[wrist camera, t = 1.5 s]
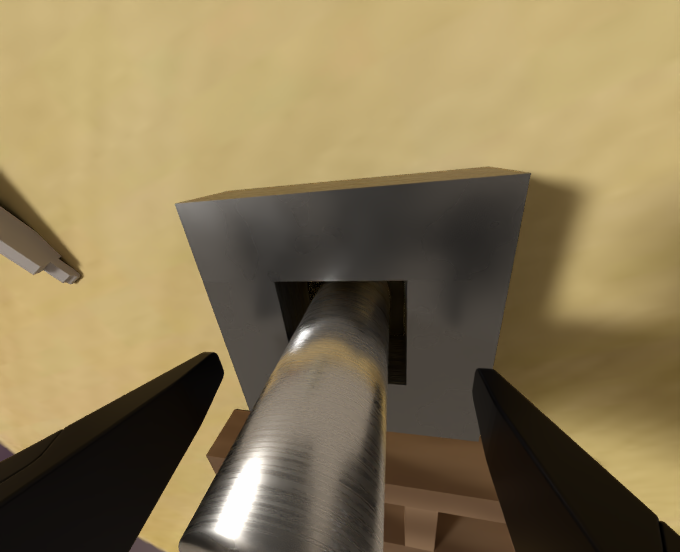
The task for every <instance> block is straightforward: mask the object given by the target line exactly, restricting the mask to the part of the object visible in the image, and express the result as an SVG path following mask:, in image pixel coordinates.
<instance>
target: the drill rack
mask: <svg viewBox="0 0 680 552" xmlns="http://www.w3.org/2000/svg"><path fill="white" fill-rule="evenodd" d="M249 414H250V411H244V410H234V411H233V413H232V415H231V416H230V418H229V419H228V421H227V423H226V424H225V426H224V427H223V429H222V431H221V432H220V434H219V436H218V437H217V439H216V440H215V442H214V444H213V445H212V447H211V448H210V450H209V452H208V453H207V455H206V456H207V458H208V460H209V462H210V464H211V466H212V468H213V470H214V472H215V473H216V474H217V472H218V471H219V469H220V467H221V465H222V463H223V462H224V460H225V458H226V456H227V454H228V452H229V451H230V449H231V447H232V445H233V443H234V442H235V440H236V438H237V436H238V434H239V432H240V431H241V429H242V427H243V425H244V423H245V422H246V420H247V418H248V416H249ZM383 552H515V550H514V546H513V543H512V540H511V537H510V534H509V531H508V528H507V525H506V522H505V518H504V515H503V512H502V509H501V506H500V503H499V500H498V497H497V494H496V490H495V487H494V484H493V481H492V478H491V475H490V472H489V468H488V465H487V462H486V458H485V454H484V449H483V445H482V440H481V436H480V437H479V442H476V441H467V440H459V439H450V438H441V437H432V436H423V435H415V434H406V433H397V432H388V431H386V463H385V500H384V537H383Z"/></svg>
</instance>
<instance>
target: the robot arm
mask: <svg viewBox="0 0 680 552" xmlns="http://www.w3.org/2000/svg"><path fill="white" fill-rule="evenodd" d="M223 376H224V370H223V367H222V365H221V362H220V359H219V357H218V355H217V354H216V353H214V352H203V353H201V354H199V355H197V356H195V357H193V358H192V359H190V360H188V361H186V362H184V363H182V364H181V365H179V366H177V367H175V368H173V369H171V370H170V371H168V372H166V373H164V374H162V375H160V376H159V377H157V378H155V379H153V380H151V381H149V382H148V383H146V384H144V385H142V386H140V387H138V388H137V389H135V390H133V391H131V392H129V393H127V394H126V395H124V396H122V397H120V398H118V399H116V400H115V401H113V402H111V403H109V404H107V405H105V406H104V407H102V408H100V409H98V410H96V411H94V412H93V413H91V414H89V415H87V416H85V417H83V418H82V419H80V420H78V421H76V422H74V423H72V424H71V425H69V426H67V427H65V428H64V429H62V430H59V431H58V432H56V433H54V434H52V435H50V436H48V437H47V438H45V439H43V440H41V441H39V442H37V443H35V444H34V445H32V446H30V447H28V448H26V449H24V450H22V451H20V452H19V453H17V454H15V455H13V456H11V457H9V458H7V459H5V460H3V461H1V462H0V552H129V551H130V549H131V547H132V545H133V544H134V542H135V540H136V538H137V537H138V535H139V533H140V531H141V530H142V528H143V526H144V524H145V523H146V521H147V519H148V517H149V516H150V514H151V512H152V510H153V509H154V507H155V505H156V503H157V502H158V500H159V498H160V496H161V495H162V493H163V491H164V489H165V488H166V486H167V484H168V482H169V481H170V479H171V477H172V475H173V474H174V472H175V470H176V468H177V466H178V465H179V463H180V461H181V459H182V458H183V456H184V454H185V452H186V451H187V449H188V447H189V445H190V444H191V442H192V440H193V438H194V437H195V435H196V433H197V431H198V430H199V428H200V426H201V424H202V422H203V420H204V418H205V416H206V414H207V412H208V409H209V407H210V405H211V403H212V401H213V399H214V396H215V394H216V392H217V390H218V388H219V386H220V383H221V381H222V379H223ZM472 396H473V402H474V407H475V411H476V416H477V421H478V426H479V430H480V435H481V440H482V445H483V449H484V454H485V458H486V462H487V465H488V468H489V472H490V475H491V478H492V481H493V484H494V487H495V490H496V494H497V497H498V500H499V503H500V506H501V509H502V512H503V515H504V518H505V522H506V525H507V528H508V531H509V534H510V537H511V540H512V543H513V546H514V550H515V552H680V536H679V535H678V534H677V533H676V532H675V531H674V530H673V529H672V528H670V527H669V526H668V525H667V524H666V523H665V522H663V521H659V519H658V517H657V515H656V514H655V513H653V512H652V511H651V510H650V509H649V508H648V507H647V506H646V505H645V504H643V503H642V502H641V501H640V500H639V499H638V498H637V497H636V496H635V495H633V494H632V493H631V492H630V491H629V490H628V489H627V488H626V487H625V486H623V485H622V484H621V483H620V482H619V481H618V480H617V479H616V478H615V477H613V476H612V475H611V474H610V473H609V472H608V471H607V470H606V469H604V468H603V467H602V466H601V465H600V464H599V463H598V462H597V461H596V460H594V459H593V458H592V457H591V456H590V455H589V454H588V453H587V452H586V451H584V450H583V449H582V448H581V447H580V446H579V445H578V444H577V443H576V442H574V441H573V440H572V439H571V438H570V437H569V436H568V435H567V434H566V433H564V432H563V431H562V430H561V429H560V428H559V427H558V426H557V425H556V424H554V423H553V422H552V421H551V420H550V419H549V418H548V417H547V416H545V415H544V414H543V413H542V412H541V411H540V410H539V409H538V408H537V407H535V406H534V405H533V404H532V403H531V402H530V401H529V400H528V399H527V398H525V397H524V396H523V395H522V394H521V393H520V392H519V391H518V390H517V389H515V388H514V387H513V386H512V385H511V384H510V383H509V382H508V381H507V380H505V379H504V378H503V377H502V376H501V375H500V374H499V373H498V372H497V371H495V370H494V369H489V368H477V369H476V371H475V375H474V382H473V388H472Z"/></svg>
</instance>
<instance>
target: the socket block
mask: <svg viewBox="0 0 680 552" xmlns="http://www.w3.org/2000/svg"><path fill="white" fill-rule="evenodd" d="M530 175H531V173H527V172H520V171H514V170H507V169H501V168H495V167H480V168H469V169H459V170H448V171H437V172H427V173H416V174H405V175H395V176H384V177H373V178H362V179H352V180H341V181H330V182H320V183H309V184H298V185H288V186H277V187H266V188H255V189H245V190H234V191H226V192H222V193H218V194H214V195H210V196H205V197H201V198H197V199H193V200H188V201H184V202H180V203H176V204H175V206H176V209H177V212H178V214H179V217H180V220H181V223H182V225H183V228H184V231H185V234H186V236H187V239H188V242H189V245H190V247H191V250H192V253H193V256H194V258H195V261H196V264H197V267H198V269H199V272H200V275H201V278H202V280H203V283H204V286H205V289H206V291H207V294H208V297H209V300H210V302H211V305H212V308H213V311H214V314H215V316H216V319H217V322H218V325H219V327H220V330H221V333H222V336H223V338H224V341H225V344H226V347H227V349H228V352H229V355H230V358H231V360H232V363H233V366H234V369H235V371H236V374H237V377H238V380H239V382H240V385H241V388H242V391H243V393H244V396H245V399H246V402H247V404H248V407H249V410H250V412H251V411H252V409H253V407H254V405H255V403H256V402H257V400H258V398H259V396H260V394H261V392H262V391H263V389H264V387H265V385H266V383H267V382H268V380H269V378H270V376H271V374H272V373H273V371H274V369H275V367H276V365H277V363H278V362H279V360H280V358H281V356H282V354H283V353H284V351H285V349H286V347H287V345H288V343H289V342H290V340H291V338H292V336H293V334H294V333H295V331H296V329H297V327H298V325H299V323H300V322H301V320H302V318H303V316H304V314H305V313H306V311H307V309H308V307H309V305H310V303H311V300H310V295H309V289H308V283H307V281H404V335H391V334H389V353H388V390H387V427H386V431H388V432H397V433H406V434H415V435H423V436H432V437H441V438H450V439H459V440H467V441H476V442H479V437H480V430H479V426H478V421H477V416H476V411H475V407H474V402H473V396H472V388H473V382H474V375H475V371H476V369H477V368H489V369H493V365H494V360H495V355H496V350H497V344H498V339H499V334H500V329H501V324H502V319H503V314H504V308H505V303H506V298H507V293H508V288H509V283H510V278H511V272H512V267H513V262H514V257H515V252H516V247H517V242H518V237H519V231H520V226H521V221H522V216H523V211H524V206H525V201H526V195H527V190H528V185H529V180H530Z"/></svg>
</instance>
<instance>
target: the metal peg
mask: <svg viewBox="0 0 680 552" xmlns="http://www.w3.org/2000/svg"><path fill="white" fill-rule="evenodd" d="M389 316H390V290H389V286H388V284H387V282H386V281H323V282H322V284H321V285H320V287H319V289H318V291H317V293H316V294H315V296H314V298H313V300H312V302H311V303H310V305H309V307H308V309H307V311H306V313H305V314H304V316H303V318H302V320H301V322H300V323H299V325H298V327H297V329H296V331H295V333H294V334H293V336H292V338H291V340H290V342H289V343H288V345H287V347H286V349H285V351H284V353H283V354H282V356H281V358H280V360H279V362H278V363H277V365H276V367H275V369H274V371H273V373H272V374H271V376H270V378H269V380H268V382H267V383H266V385H265V387H264V389H263V391H262V392H261V394H260V396H259V398H258V400H257V402H256V403H255V405H254V407H253V409H252V411H251V412H250V414H249V416H248V418H247V420H246V422H245V423H244V425H243V427H242V429H241V431H240V432H239V434H238V436H237V438H236V440H235V442H234V443H233V445H232V447H231V449H230V451H229V452H228V454H227V456H226V458H225V460H224V462H223V463H222V465H221V467H220V469H219V471H218V472H217V474H216V476H215V478H214V480H213V481H212V483H211V485H210V487H209V489H208V491H207V492H206V494H205V496H204V498H203V500H202V501H201V503H200V505H199V507H198V509H197V511H196V512H195V514H194V516H193V518H192V520H191V521H190V523H189V525H188V527H187V529H186V531H185V532H184V534H183V536H182V538H181V540H180V541H179V546H178V547H179V552H383V537H384V500H385V463H386V427H387V390H388V353H389Z"/></svg>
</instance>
